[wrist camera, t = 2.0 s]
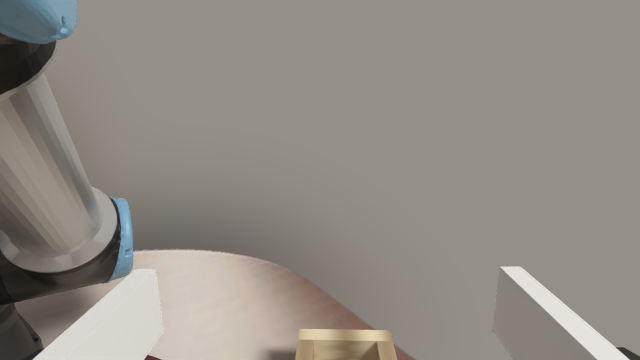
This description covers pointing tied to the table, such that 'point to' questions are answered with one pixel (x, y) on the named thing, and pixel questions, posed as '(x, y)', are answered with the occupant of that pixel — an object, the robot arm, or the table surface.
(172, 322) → the table surface
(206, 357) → the table surface
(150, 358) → the supplement box
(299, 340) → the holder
